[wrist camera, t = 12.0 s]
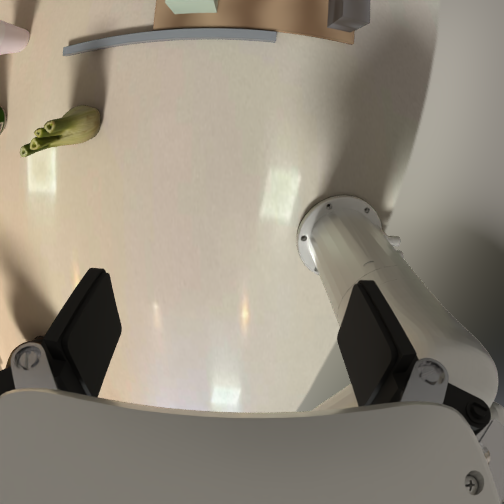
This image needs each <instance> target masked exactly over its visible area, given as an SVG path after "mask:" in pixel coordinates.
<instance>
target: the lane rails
mask: <svg viewBox="0 0 504 504" xmlns="http://www.w3.org/2000/svg"><path fill="white" fill-rule="evenodd" d="M276 33H277V32H273V31H262V30H249V29H225V28H198V29H174V30H161V31H150V32H141V33H134V34H126V35H120V36H114V37H108V38H103V39H98V40H93V41H88V42H84V43H79V44H75V45H71V46H67V47H64V48H63V56H70V55H74V54H79V53H83V52H88V51H93V50H98V49H104V48H109V47H116V46H122V45H129V44H137V43H146V42H157V41H170V40H192V39H227V40H249V41H263V42H273V43H275V41H276Z"/></svg>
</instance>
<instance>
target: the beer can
mask: <svg viewBox="0 0 504 504" xmlns="http://www.w3.org/2000/svg"><path fill="white" fill-rule="evenodd" d="M6 120H7V118H6V112H5V110H4V108H2V107H1V106H0V134H1V133H2V132H3V130H4V128H5V126H6Z"/></svg>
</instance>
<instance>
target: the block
mask: <svg viewBox="0 0 504 504" xmlns="http://www.w3.org/2000/svg"><path fill="white" fill-rule="evenodd" d="M165 3H166V4H167V6H168V7H169V8H170V9H171V10H172V12H173V13H174V14H186V13H217V7H218V0H165Z"/></svg>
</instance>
